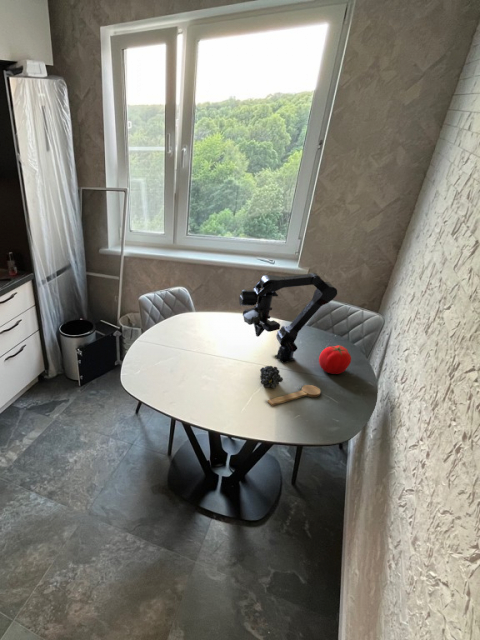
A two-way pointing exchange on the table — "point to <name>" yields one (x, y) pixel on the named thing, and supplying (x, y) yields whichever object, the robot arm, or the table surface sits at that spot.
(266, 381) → the fruit
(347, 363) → the tomato
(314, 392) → the spoon
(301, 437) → the table surface
